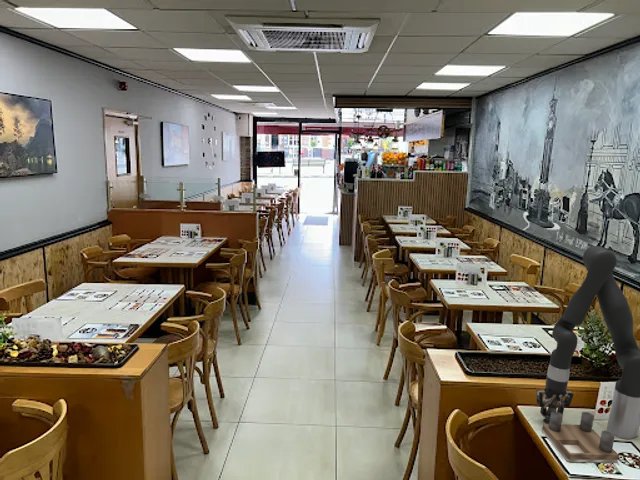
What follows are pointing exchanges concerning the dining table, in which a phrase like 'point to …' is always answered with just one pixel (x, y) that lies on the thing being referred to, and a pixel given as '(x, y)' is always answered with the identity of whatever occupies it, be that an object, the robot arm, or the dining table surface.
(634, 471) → the dining table surface
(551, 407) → the grey chess piece
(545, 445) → the dining table surface
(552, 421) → the wooden peg stand
